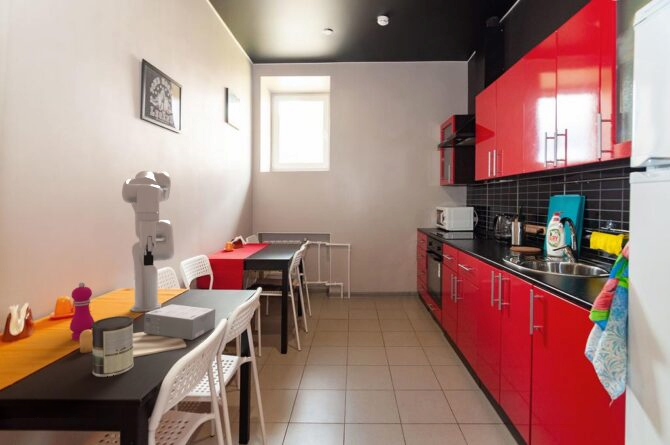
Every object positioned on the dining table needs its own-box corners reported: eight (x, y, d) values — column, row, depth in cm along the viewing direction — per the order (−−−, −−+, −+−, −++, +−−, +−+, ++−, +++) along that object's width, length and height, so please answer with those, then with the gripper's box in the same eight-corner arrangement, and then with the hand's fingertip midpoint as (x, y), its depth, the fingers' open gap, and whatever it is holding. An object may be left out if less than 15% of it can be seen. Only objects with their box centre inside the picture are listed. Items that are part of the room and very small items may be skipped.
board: (121, 336, 128) (121, 335, 127) (175, 328, 137) (175, 326, 137) (124, 358, 109) (124, 357, 109) (186, 347, 119) (186, 345, 119)
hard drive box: (142, 334, 128) (191, 340, 124) (143, 313, 128) (192, 319, 123) (171, 322, 143) (215, 327, 139) (172, 303, 143) (216, 308, 139)
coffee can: (84, 377, 97) (83, 327, 96) (105, 361, 107) (104, 316, 107) (122, 376, 98) (122, 327, 97) (140, 360, 108) (139, 315, 108)
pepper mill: (99, 335, 129) (98, 281, 128) (79, 342, 122) (78, 285, 121) (85, 332, 131) (84, 279, 131) (65, 339, 125) (64, 283, 124)
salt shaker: (80, 349, 116) (80, 329, 116) (94, 347, 118) (94, 326, 118) (79, 353, 113) (79, 332, 112) (94, 351, 115) (94, 330, 115)
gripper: (135, 216, 137) (135, 262, 138) (138, 218, 124) (138, 269, 125) (156, 216, 141) (157, 261, 142) (161, 218, 128) (162, 267, 130)
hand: (148, 265), depth 134 cm, fingers closed
